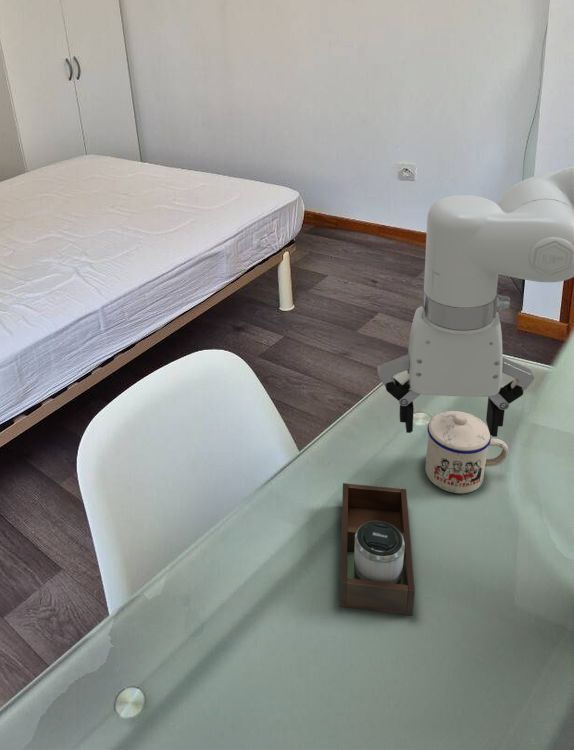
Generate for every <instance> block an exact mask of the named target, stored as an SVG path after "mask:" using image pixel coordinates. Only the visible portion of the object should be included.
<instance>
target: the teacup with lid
mask: <svg viewBox="0 0 574 750" xmlns="http://www.w3.org/2000/svg"><path fill="white" fill-rule="evenodd" d="M427 434H428V436H427V447H426V458H425V475H426V476H427V478H428V479H429V480H430V482H431V483H433V485H434V486H436V487H438V488H439V489H441V490H444V491H446V492H449V493H453V494H467V493H471V492H474V491H475V490H477V489H479V488H480V487H481V485H482V484H483V482H484V476H485V472H486V471H485V469H486V467H487V468H488V467H496V466H499V465H501V464H502V463H504V462H505V461H506V459H507V458H508V456H509V447H508V444H507V443H506V442H505V441H503V440H501V439H499V438H495V437H494V438H493V437H492V435H490V433H489V429H488V426H487V424H486V423H485V422H484V421H483V420H481V419H480V418H479V417H477V416H475V415H474V414H471V413H468V412H464V411H458V410H447V411H442V412H439V413H437V414H435V415H434V416H433V417H432V418H431V419H430V420H429V422H428V424H427ZM491 446H492V447H493V446H494V447H499V448H501V449H502V450H501V452H500V453H499V455H497V456H496V457H494V458H487V456H488V450H489V447H491Z"/></svg>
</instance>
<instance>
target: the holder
mask: <svg viewBox="0 0 574 750" xmlns="http://www.w3.org/2000/svg"><path fill="white" fill-rule="evenodd" d="M341 499H342V501H341V502H342V503H341V540H340V541H341V543H340V544H341V545H340V577H339V578H340V579H339V580H340V582H339V583H340V584H339V606H340V607H344V608H352V609H360V610H368V611H375V612H381V613H382V612H383V613H390V614H399V615H406V616H413V615H414V604H415V593H416V589H415V588H416V587H415V576H414V565H413V552H412V541H411V531H410V518H409V505H408V493H407V488H399V487H388V486H379V485H378V486H377V485H366V484H357V483H346V482H343V483H342V497H341ZM370 521H382V522H386V523H389V524H391V525H392V526H394V527H395V528H396V529H397V530H398V531H399V532H400V533H401V535H402V536H403V538H404V542H405V549H404V559H403V571H402V576H401V580H400V583H399V584H392V583H384V582H376V581H368V580H360V579H357V578H356V575H355V570H354V550H355V534H356V531H357V530H358V528H359V527H360V526H362V525H363V524H365V523H367V522H370Z"/></svg>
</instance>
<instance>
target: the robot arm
mask: <svg viewBox="0 0 574 750" xmlns="http://www.w3.org/2000/svg"><path fill="white" fill-rule="evenodd" d="M426 219H427V220H426V236H425V259H424V276H423V277H424V279H423V298H422V306H419V307H417V308H416V310H415V312H414V316H413V319H412V324H411V327H410V334H409V341H408V347H407V348H408V349H407V354H404V355H401V356H400V357H398V358H395V359H392V360H390V361H387V362H385V363H382V364H380V365H377V367H376V372H377V373H376V375H377V377H378V379H379V380H380V382H381V384H382V385H383V386H384V387H385V390H386V392H387V393H388V394H389V395H391V396H392V397H393V398H394V399H396V400H397V401H398V404H399V423H404V425H405V431H406V434H411V433H413V431H414V409H415V407H414V400H416V399H417V398H419V396H421V395H423V396H436V397H437V396H441V397H467V398H469V397H471V398H486V397H487V408H486V417H485V422H486V426H487V427H488V429H489V433H490V435H491V438H493V437H494V438H495V437H496V438H497V437H498V432H499V427H503V426H504V419H505V411H506V410H508V409H509V408H510V404H511V403H513V402H514V401H516V400H517V399H519V398H521V397H522V396H523V395H524V391H525V390H527V389H528V388H529V386H530V385H531V384H532V383H533V382H534V380H535V376H534V374H533V371H532V370H531V369H530V368H528V367H526V366H523V365H521V364H519V363H517V362H514V361H513V360H510V359H508V358H505V357H503V334H502V325H501V320H500V314H499V311H500V310H501V311H502V310H503V309H509V308H510V306H511V300H510V297H509V296H508V295H507V296H503V295H500V294H498V284H499V283H498V281H499V276H500V275H501V276H505V277H510V278H516V279H521V280H526V281H531V282H537V283H558V282H564V281H567V280H570V279H572V278H574V165H572V166H571V165H570V166H568V167H563V168H560V169H555V170H552V171H551V170H550V171H548V172H543V173H540V174H537V175H533V176H531V177H528V178H525V179H523V180H520V181H519V182H517V183H515V184H514V185H512V186H511V187H509V188H508V189H507V190H506V191H505V192H504V193H503V194H502V196H501V197H500V199H499V200H498V204H497V202H495V201H493V200H491V199H490V198H486V197H483V196H479V195H469V194H463V195H462V194H458V195H450V196H445V197H443V198H440V199H438V200H436V201H435V202H434V203H433V204H432V205H431V206H430V208H429V210H428V213H427V217H426ZM406 371H407V374H408V377H406V379H404V380H403V382H400V381H399V380H397V379H396V378H395V377H394V376H396V375H398V374H401V373H403V372H406ZM503 374H505V375H506V376H507V375H508V376H510V377H512V378H514V379H513V380H511V381H510V382H508V383H507V384H505V385H504V386H502V382H503Z"/></svg>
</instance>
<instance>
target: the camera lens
mask: <svg viewBox="0 0 574 750" xmlns="http://www.w3.org/2000/svg"><path fill="white" fill-rule="evenodd" d="M404 549H405V542H404V538H403V536H402V535H401V533H400V532H399V531H398V530H397V529H396V528H395V527H394V526H392V525H391V524H389V523H386V522H382V521H370V522H367V523H365V524H363V525H362V526H360V527H359V528H358V530H357V531H356V534H355V550H354V570H355V575H356V578H357V579H360V580H368V581H376V582H384V583H392V584H399V583H400V580H401V576H402V571H403V559H404Z"/></svg>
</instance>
